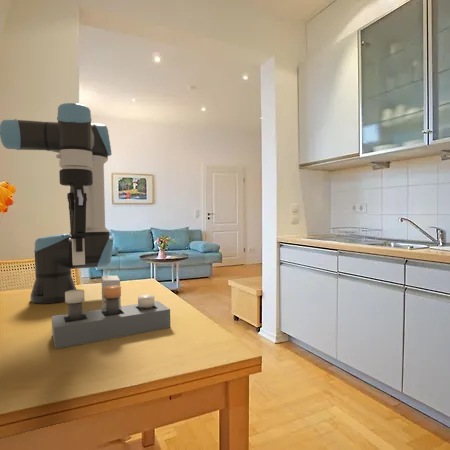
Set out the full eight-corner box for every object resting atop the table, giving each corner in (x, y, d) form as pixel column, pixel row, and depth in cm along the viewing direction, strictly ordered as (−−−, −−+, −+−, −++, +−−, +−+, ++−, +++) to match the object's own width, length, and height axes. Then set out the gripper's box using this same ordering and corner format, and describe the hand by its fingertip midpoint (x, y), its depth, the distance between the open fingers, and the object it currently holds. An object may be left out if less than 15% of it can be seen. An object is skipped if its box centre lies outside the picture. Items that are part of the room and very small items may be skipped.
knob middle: (102, 314, 92) (101, 286, 92) (119, 311, 94) (118, 284, 94) (105, 318, 88) (104, 289, 88) (123, 316, 90) (122, 287, 90)
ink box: (121, 319, 101) (120, 279, 101) (103, 321, 100) (102, 280, 99) (118, 311, 109) (117, 274, 109) (101, 313, 107) (100, 275, 107)
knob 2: (136, 322, 96) (136, 296, 96) (152, 319, 99) (151, 293, 98) (141, 326, 93) (140, 299, 92) (157, 324, 95) (156, 297, 95)
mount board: (52, 335, 89) (51, 316, 88) (158, 317, 102) (158, 300, 102) (55, 348, 80) (54, 327, 80) (170, 327, 94) (170, 309, 94)
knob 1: (65, 320, 87) (64, 290, 87) (83, 317, 90) (82, 288, 89) (66, 324, 84) (65, 294, 83) (86, 321, 86) (85, 292, 85)
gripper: (56, 171, 89) (59, 262, 90) (62, 165, 78) (65, 269, 79) (87, 172, 93) (90, 260, 94) (97, 167, 82) (99, 266, 83)
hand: (78, 264), depth 87 cm, fingers closed
